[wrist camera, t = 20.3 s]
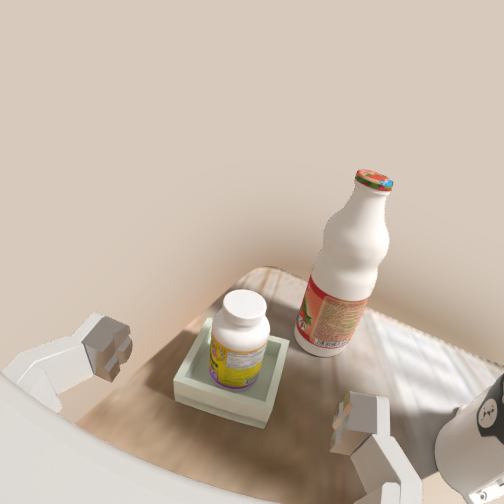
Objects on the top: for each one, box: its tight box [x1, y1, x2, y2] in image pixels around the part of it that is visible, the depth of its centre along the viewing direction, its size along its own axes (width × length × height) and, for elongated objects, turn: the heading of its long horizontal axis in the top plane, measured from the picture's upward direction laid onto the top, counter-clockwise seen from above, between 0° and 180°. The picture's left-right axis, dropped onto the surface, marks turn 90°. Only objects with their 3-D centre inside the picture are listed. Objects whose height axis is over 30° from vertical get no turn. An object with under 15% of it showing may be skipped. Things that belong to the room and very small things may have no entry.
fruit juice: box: [294, 170, 393, 357], centre depth 44 cm, size 9×9×28 cm
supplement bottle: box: [209, 290, 270, 391], centre depth 37 cm, size 7×7×13 cm
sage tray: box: [173, 317, 290, 429], centre depth 40 cm, size 12×12×5 cm
